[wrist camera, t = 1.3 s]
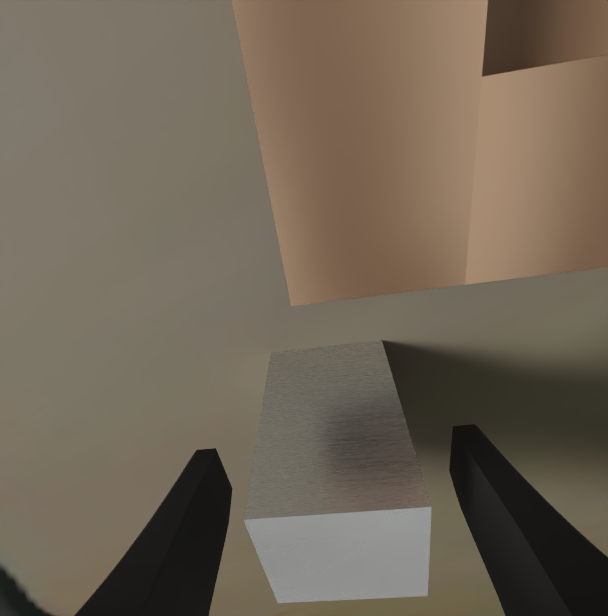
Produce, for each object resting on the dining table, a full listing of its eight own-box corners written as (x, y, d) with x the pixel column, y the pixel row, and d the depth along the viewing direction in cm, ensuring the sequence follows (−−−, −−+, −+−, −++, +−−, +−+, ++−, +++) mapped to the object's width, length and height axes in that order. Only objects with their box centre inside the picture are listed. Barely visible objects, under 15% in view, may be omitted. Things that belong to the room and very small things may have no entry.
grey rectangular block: (381, 339, 13) (431, 507, 7) (385, 419, 14) (427, 595, 9) (271, 352, 13) (243, 520, 8) (289, 428, 15) (277, 603, 10)
